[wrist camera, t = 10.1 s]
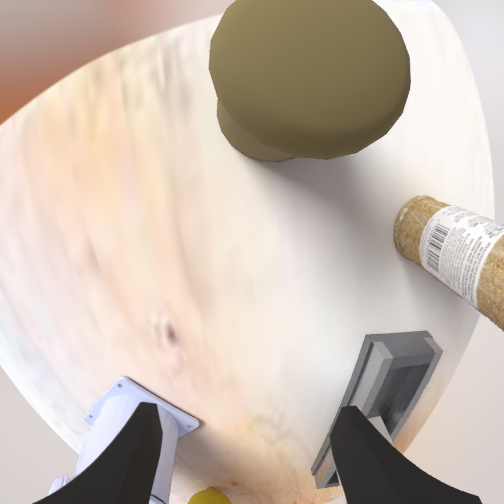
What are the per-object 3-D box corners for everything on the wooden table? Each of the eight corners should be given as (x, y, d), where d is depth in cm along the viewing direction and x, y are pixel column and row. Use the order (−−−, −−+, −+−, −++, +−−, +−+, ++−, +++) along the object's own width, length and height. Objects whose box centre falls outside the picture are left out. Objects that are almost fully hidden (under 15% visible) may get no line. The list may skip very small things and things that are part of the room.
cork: (344, 117, 15) (480, 91, 5) (268, 184, 16) (322, 242, 6) (274, 42, 14) (323, -79, 3) (194, 108, 15) (122, 40, 4)
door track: (357, 462, 27) (364, 480, 24) (310, 469, 27) (315, 489, 24) (426, 330, 21) (444, 351, 18) (365, 334, 20) (381, 359, 17)
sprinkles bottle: (426, 266, 19) (557, 378, 6) (380, 245, 18) (532, 376, 5) (451, 209, 17) (604, 285, 5) (408, 181, 17) (593, 250, 4)
